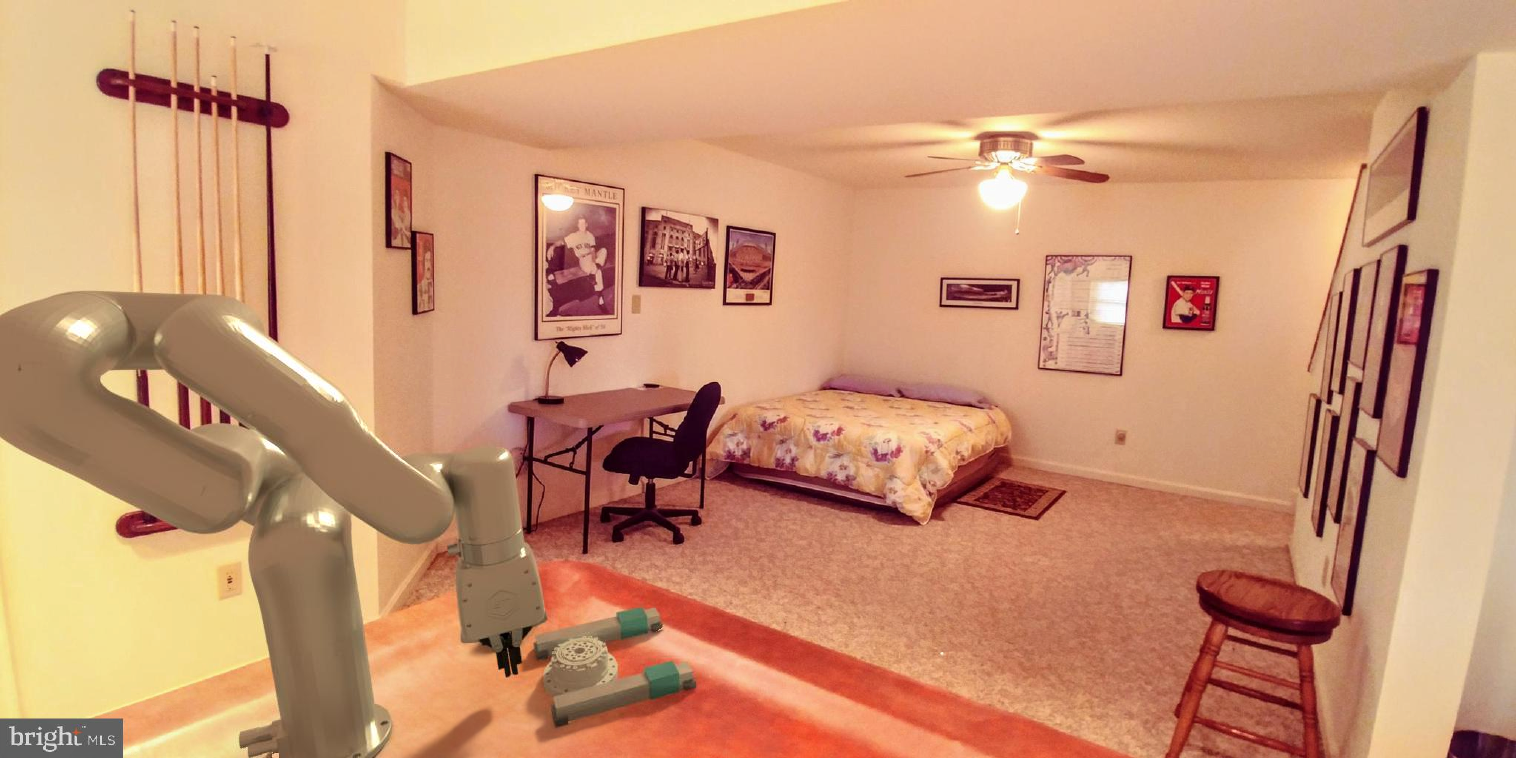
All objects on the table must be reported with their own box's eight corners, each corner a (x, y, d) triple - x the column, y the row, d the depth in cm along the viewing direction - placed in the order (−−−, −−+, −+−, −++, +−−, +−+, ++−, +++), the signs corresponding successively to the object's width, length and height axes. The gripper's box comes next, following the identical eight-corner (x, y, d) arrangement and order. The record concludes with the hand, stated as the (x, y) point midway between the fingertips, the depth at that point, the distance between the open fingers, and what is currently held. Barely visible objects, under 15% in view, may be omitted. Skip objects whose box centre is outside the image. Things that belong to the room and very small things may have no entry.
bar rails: (555, 727, 91) (553, 707, 91) (533, 648, 107) (532, 631, 107) (696, 687, 99) (695, 668, 98) (656, 619, 115) (656, 602, 114)
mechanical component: (529, 697, 97) (600, 707, 95) (527, 668, 96) (598, 678, 94) (564, 653, 107) (628, 661, 105) (562, 625, 106) (627, 634, 104)
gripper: (428, 572, 86) (451, 705, 91) (558, 543, 92) (573, 669, 97) (427, 545, 93) (448, 670, 97) (548, 519, 98) (562, 639, 103)
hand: (510, 669), depth 97 cm, fingers closed
